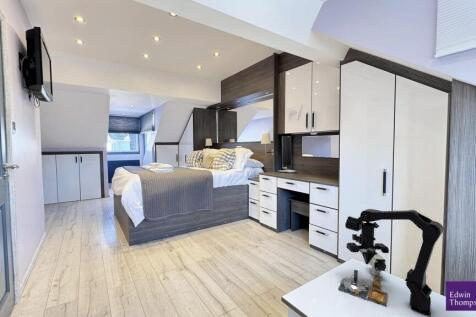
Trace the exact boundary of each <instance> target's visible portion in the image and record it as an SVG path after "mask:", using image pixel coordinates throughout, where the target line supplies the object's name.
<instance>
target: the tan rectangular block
mask: <svg viewBox="0 0 476 317" xmlns="http://www.w3.org/2000/svg"><path fill="white" fill-rule="evenodd" d="M371 282H372V284H371V287H372V288H375V289H378V290H381V289H382V278H381V277H377V276H373V277H372V280H371ZM381 291H382V290H381Z"/></svg>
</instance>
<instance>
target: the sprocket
mask: <svg viewBox="0 0 476 317" xmlns="http://www.w3.org/2000/svg"><path fill="white" fill-rule="evenodd" d="M358 273H359V270H357V269H353V276H350V277H342V280H340V281H339V285H340V284H341V285H343V286H344V287H345V290H346V291H348V290H349V291H352V292H354V293H355V294H358V293H364V294H367V290H368V284H366V285H364V284H365V283H364V281H363V280H361V279H359V278H358V277H359V276H358V275H359V274H358ZM365 289H366V290H365ZM368 291H369V290H368ZM367 295H368V294H367Z"/></svg>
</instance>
